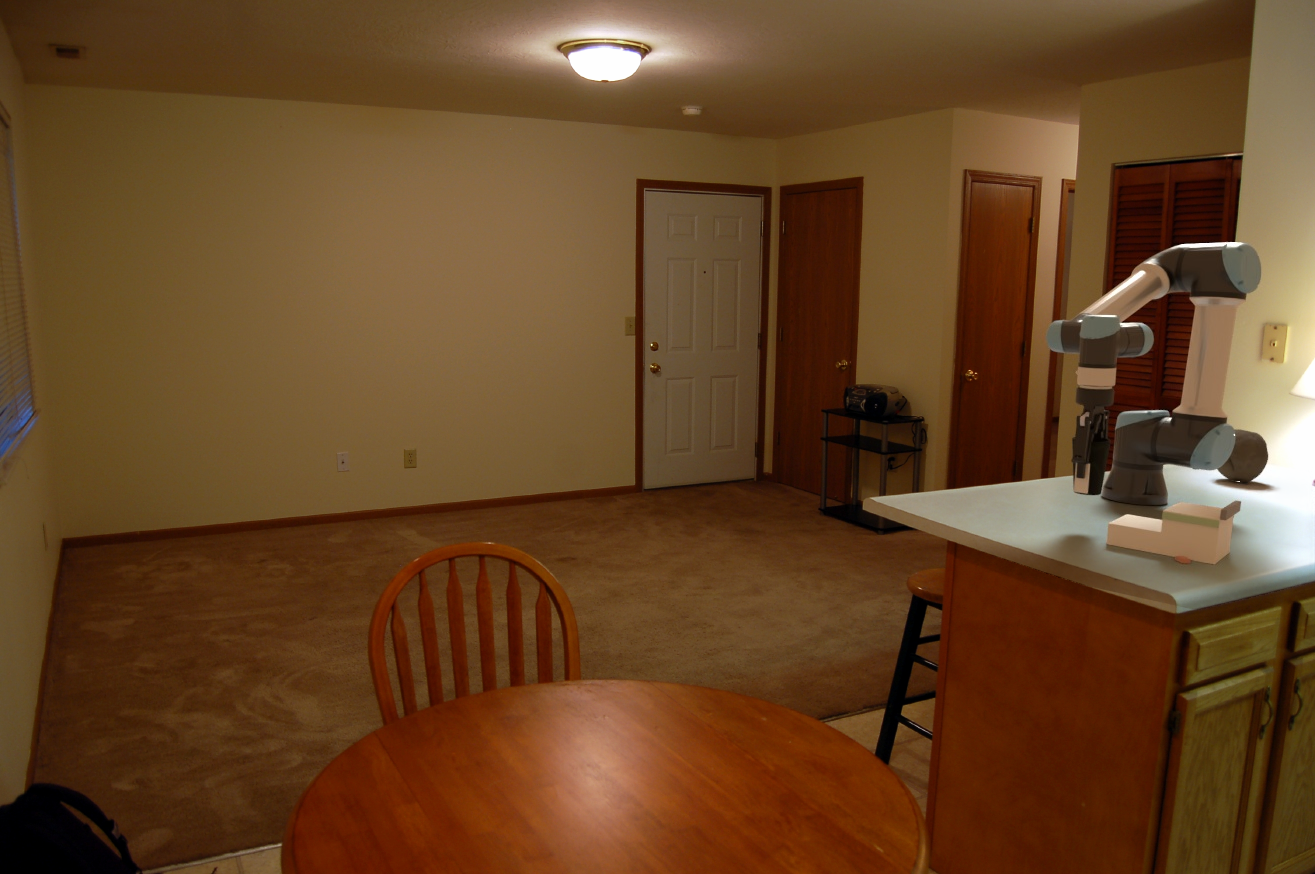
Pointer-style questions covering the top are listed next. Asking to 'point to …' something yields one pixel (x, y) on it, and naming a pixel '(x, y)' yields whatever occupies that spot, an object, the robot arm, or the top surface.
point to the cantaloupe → (1246, 457)
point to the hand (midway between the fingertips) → (1087, 489)
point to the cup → (1095, 466)
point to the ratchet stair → (1179, 532)
